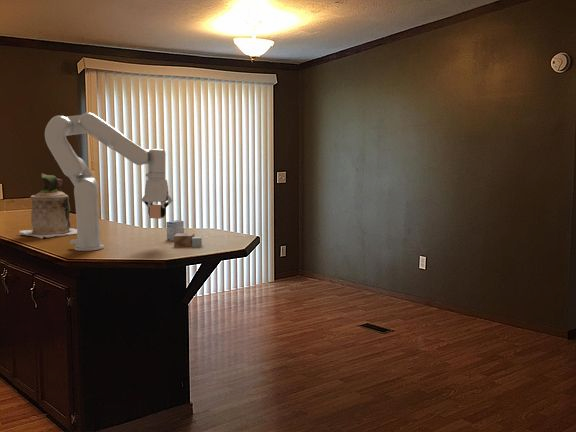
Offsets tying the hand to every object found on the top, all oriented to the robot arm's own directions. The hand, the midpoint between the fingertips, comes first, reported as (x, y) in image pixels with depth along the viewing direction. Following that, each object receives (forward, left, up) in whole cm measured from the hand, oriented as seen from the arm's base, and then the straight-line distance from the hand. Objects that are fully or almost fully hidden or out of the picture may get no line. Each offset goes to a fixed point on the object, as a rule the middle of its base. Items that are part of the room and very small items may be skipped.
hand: (157, 215), depth 263 cm
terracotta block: (0, 0, -1) cm, 1 cm away
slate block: (+19, 0, -14) cm, 23 cm away
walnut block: (+12, +2, -14) cm, 18 cm away
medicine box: (+1, +19, -14) cm, 24 cm away
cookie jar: (-71, +28, -14) cm, 78 cm away
